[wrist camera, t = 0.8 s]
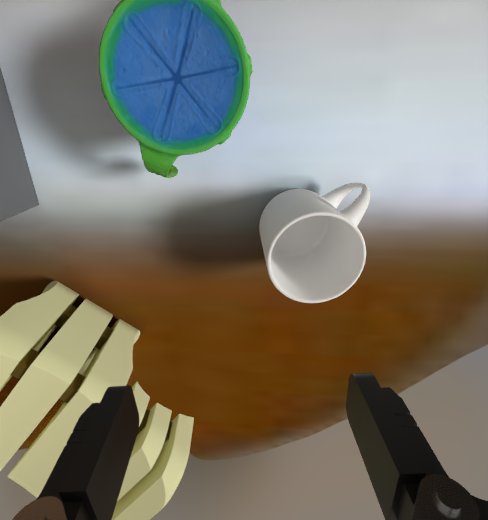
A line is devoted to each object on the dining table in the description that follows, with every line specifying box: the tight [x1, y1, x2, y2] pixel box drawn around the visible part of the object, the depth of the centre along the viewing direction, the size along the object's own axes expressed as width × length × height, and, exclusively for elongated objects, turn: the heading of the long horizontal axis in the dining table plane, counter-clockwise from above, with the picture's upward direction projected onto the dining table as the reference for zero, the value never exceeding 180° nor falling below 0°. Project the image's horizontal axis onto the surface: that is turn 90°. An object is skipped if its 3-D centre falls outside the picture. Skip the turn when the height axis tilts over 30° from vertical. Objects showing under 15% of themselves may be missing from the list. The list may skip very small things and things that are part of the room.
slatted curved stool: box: [0, 281, 194, 520], centre depth 35 cm, size 30×16×18 cm, turn 50°
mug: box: [259, 183, 370, 303], centre depth 32 cm, size 9×12×11 cm
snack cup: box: [99, 0, 252, 178], centre depth 27 cm, size 16×10×10 cm
